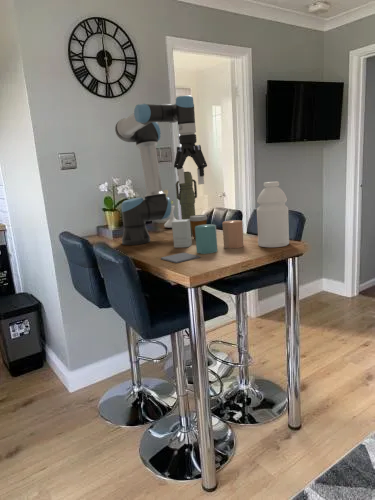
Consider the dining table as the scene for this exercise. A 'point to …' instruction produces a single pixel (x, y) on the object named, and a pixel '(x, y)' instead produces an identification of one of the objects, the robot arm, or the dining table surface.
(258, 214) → the bottle
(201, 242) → the teal cup
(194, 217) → the disposable coffee cup
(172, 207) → the flower in vase
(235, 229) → the terracotta cup
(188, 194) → the thermos
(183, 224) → the supplement box
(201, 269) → the dining table surface
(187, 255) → the coaster
